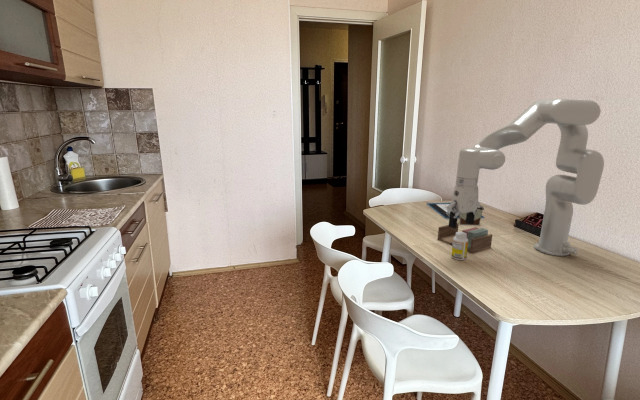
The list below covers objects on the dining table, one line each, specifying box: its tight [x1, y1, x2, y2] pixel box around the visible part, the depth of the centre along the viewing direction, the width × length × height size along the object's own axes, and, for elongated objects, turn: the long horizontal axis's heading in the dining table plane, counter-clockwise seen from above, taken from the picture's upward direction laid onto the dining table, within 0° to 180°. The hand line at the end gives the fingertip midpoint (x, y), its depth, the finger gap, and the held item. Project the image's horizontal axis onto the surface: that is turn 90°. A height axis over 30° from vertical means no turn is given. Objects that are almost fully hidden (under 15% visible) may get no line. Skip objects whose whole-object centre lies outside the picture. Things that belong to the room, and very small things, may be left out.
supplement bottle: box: [451, 231, 468, 261], centre depth 137 cm, size 6×6×10 cm
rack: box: [437, 222, 493, 255], centre depth 151 cm, size 18×12×8 cm, turn 30°
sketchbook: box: [426, 201, 485, 220], centre depth 202 cm, size 22×30×2 cm
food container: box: [459, 204, 485, 226], centre depth 179 cm, size 12×6×10 cm, turn 84°
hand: (461, 225), depth 135 cm, fingers open, 9 cm apart
